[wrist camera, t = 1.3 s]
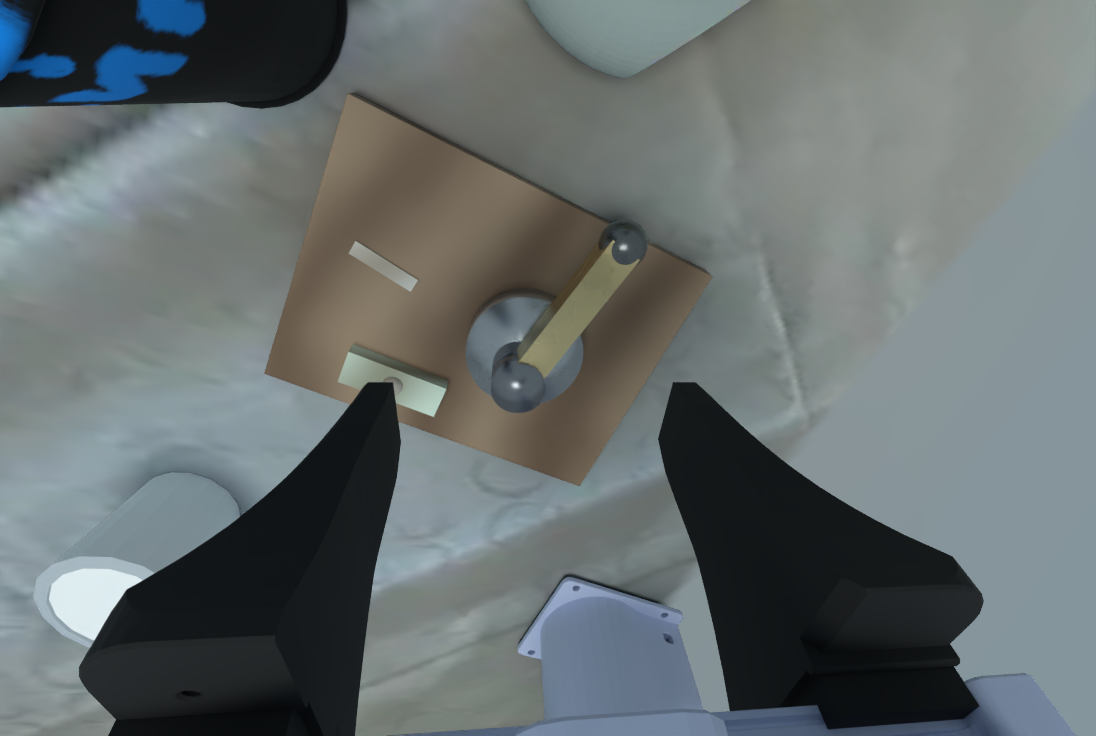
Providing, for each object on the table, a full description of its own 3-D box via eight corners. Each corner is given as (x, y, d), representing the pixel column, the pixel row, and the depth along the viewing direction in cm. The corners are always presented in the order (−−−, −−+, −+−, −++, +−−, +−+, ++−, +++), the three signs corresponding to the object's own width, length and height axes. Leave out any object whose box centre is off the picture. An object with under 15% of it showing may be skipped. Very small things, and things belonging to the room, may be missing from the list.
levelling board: (705, 270, 27) (722, 285, 25) (577, 475, 32) (582, 502, 30) (354, 93, 23) (337, 93, 21) (272, 364, 28) (252, 386, 26)
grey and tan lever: (536, 407, 29) (540, 453, 25) (446, 354, 27) (436, 394, 23) (669, 245, 25) (696, 271, 22) (575, 172, 24) (587, 186, 20)
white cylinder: (272, 500, 32) (214, 598, 26) (221, 568, 34) (156, 674, 28) (155, 442, 30) (60, 535, 23) (108, 519, 32) (10, 622, 26)
